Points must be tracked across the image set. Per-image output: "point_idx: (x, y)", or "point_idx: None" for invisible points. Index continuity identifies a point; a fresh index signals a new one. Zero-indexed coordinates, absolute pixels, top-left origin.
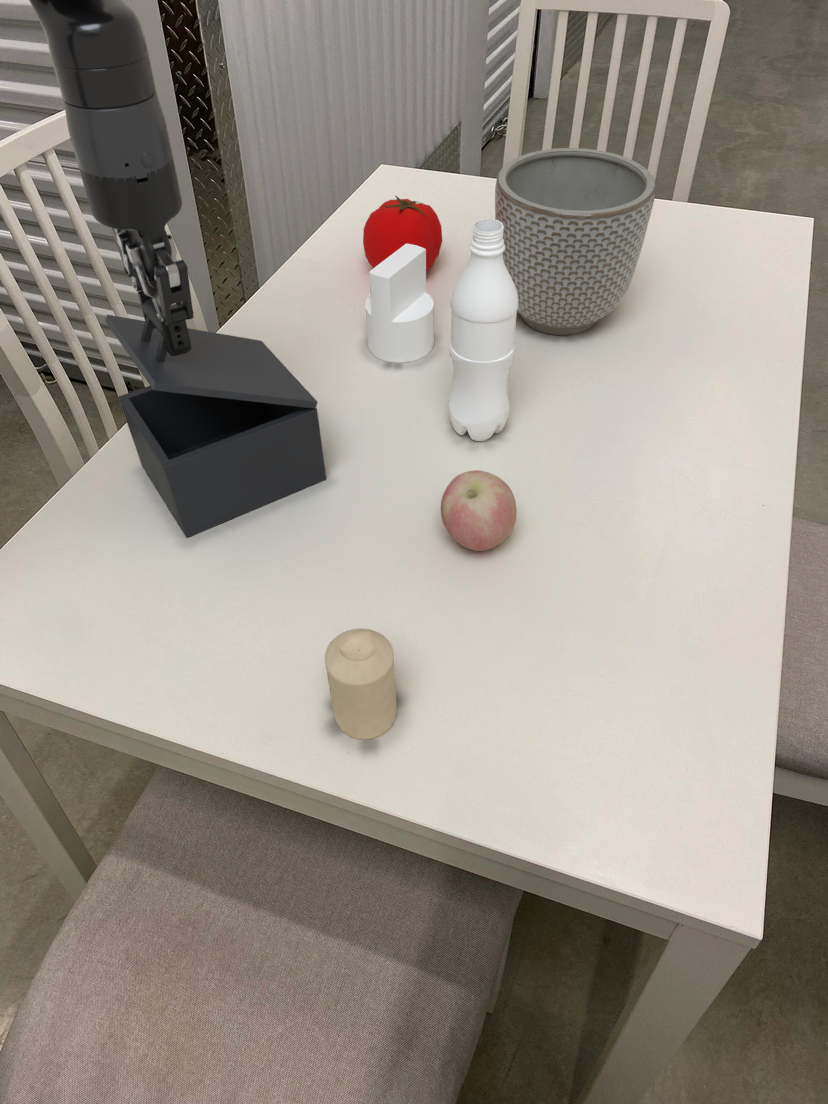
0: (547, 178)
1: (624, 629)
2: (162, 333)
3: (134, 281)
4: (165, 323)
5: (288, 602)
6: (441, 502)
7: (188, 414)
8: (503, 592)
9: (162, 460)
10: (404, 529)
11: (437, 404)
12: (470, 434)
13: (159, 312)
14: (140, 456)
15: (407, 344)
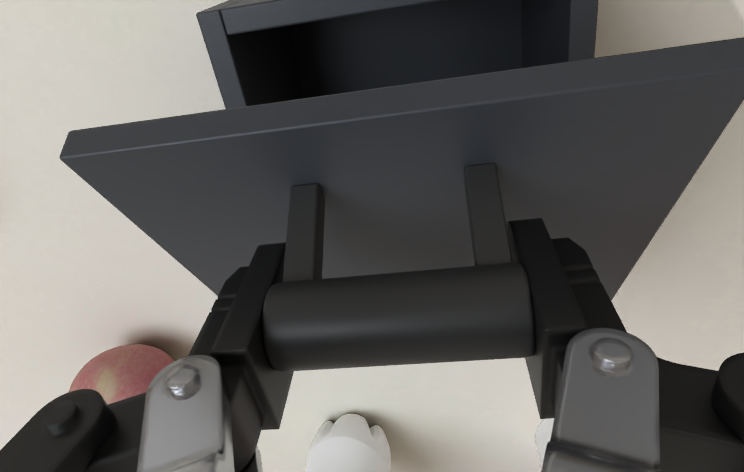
0: None
1: (3, 403)
2: (264, 295)
3: (590, 390)
4: (89, 392)
5: (75, 114)
6: (131, 377)
7: None
8: (64, 343)
9: (228, 16)
10: (191, 298)
11: (423, 417)
12: (322, 428)
13: (146, 413)
14: None
15: (544, 454)
